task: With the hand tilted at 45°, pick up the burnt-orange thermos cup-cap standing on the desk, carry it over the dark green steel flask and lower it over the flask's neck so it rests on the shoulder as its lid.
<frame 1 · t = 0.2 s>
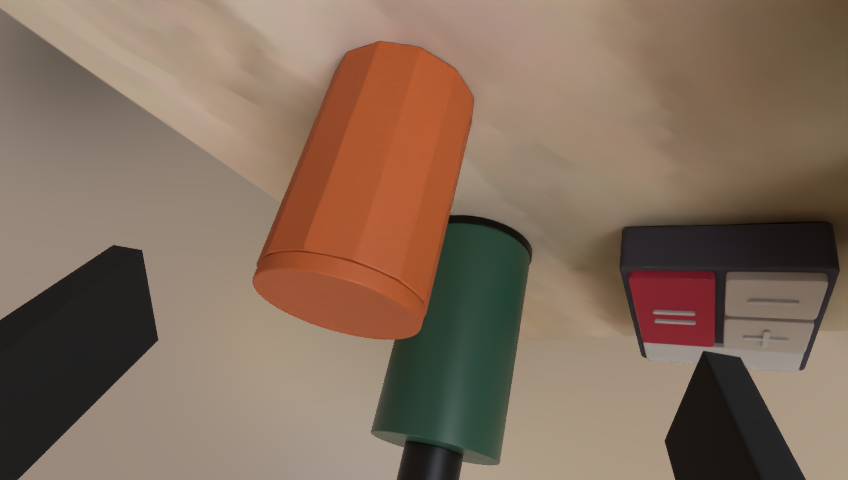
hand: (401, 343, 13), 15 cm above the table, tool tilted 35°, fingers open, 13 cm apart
flask: (475, 245, 41), on the table
red and grey box: (717, 276, 37), on the table
cap: (403, 98, 28), on the table
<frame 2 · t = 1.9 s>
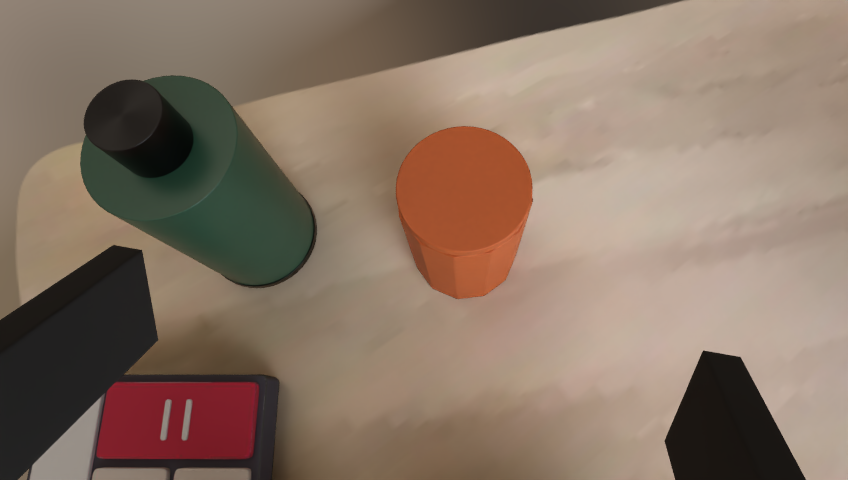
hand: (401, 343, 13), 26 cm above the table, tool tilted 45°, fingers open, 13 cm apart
flask: (263, 234, 42), on the table
red and grey box: (171, 457, 38), on the table
cap: (464, 249, 40), on the table
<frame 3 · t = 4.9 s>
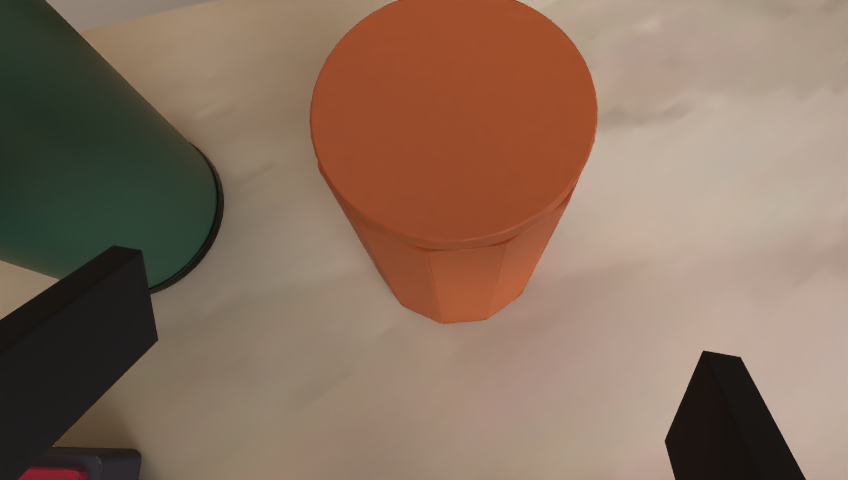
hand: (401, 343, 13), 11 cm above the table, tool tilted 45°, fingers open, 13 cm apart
flask: (139, 213, 27), on the table
cap: (455, 243, 25), on the table
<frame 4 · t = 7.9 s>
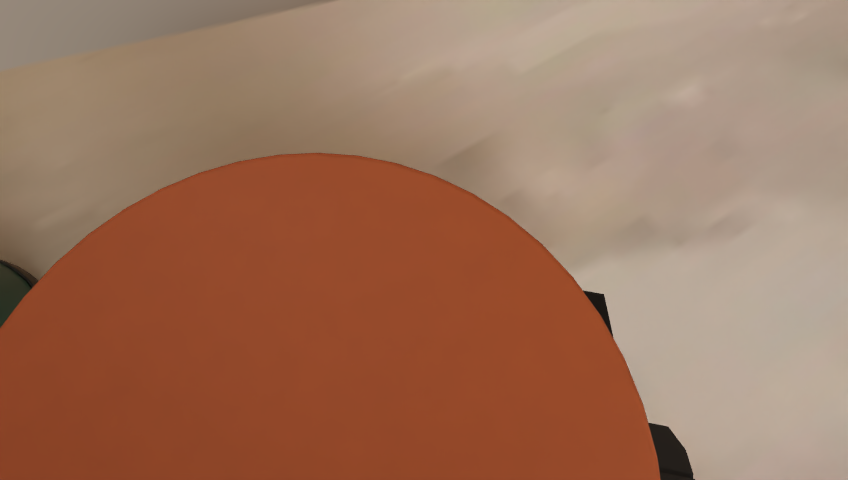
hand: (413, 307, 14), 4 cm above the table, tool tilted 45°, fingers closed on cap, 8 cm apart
cap: (402, 436, 17), on the table, touching gripper
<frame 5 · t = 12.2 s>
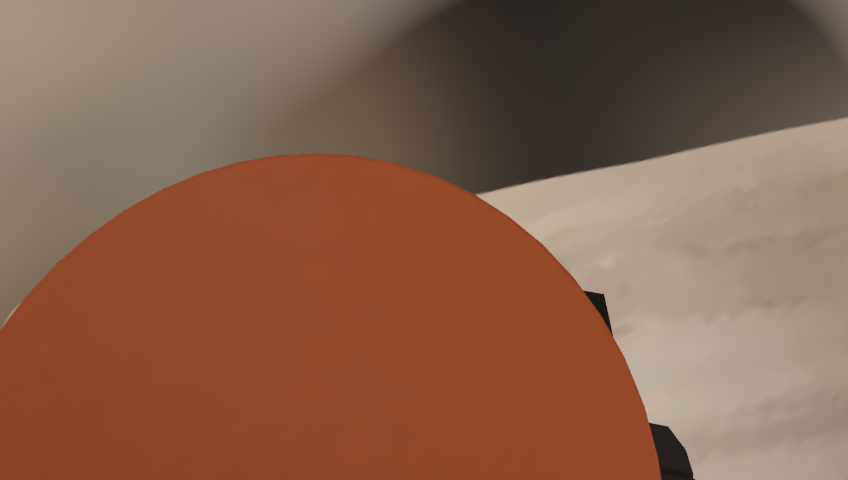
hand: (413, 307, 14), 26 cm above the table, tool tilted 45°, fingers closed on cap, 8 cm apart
cap: (402, 437, 17), point 22 cm above the table, touching gripper
when the fingers open (19 cm above the table, at t = 16.6 s): cap stays where it is, resting on flask.
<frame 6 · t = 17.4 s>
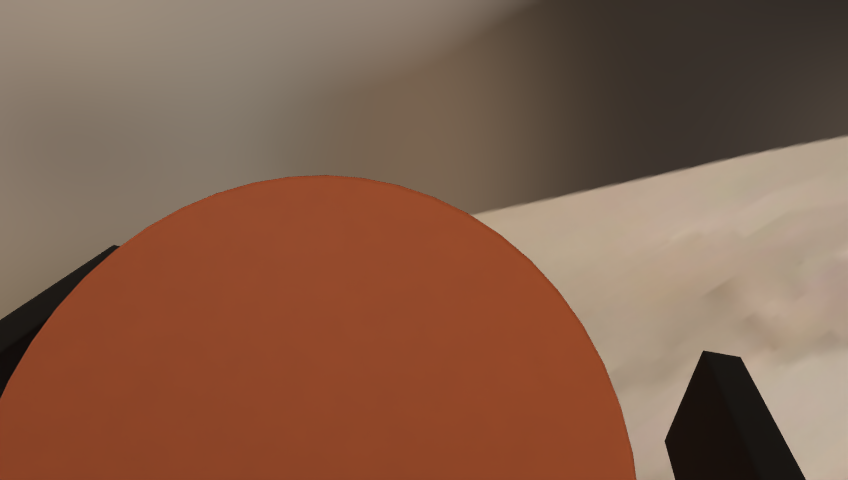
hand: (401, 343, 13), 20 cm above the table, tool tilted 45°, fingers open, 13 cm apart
cap: (402, 436, 17), point 15 cm above the table, touching flask
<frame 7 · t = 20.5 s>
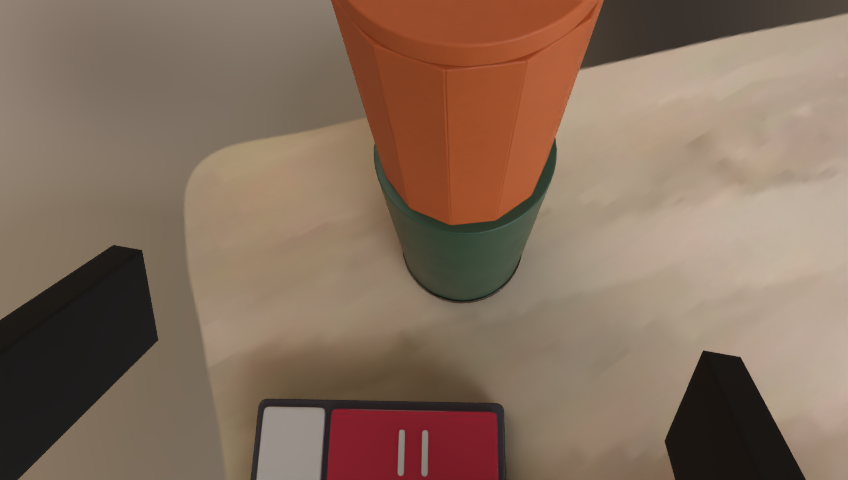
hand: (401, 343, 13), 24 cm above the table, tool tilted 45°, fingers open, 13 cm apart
flask: (461, 244, 39), on the table
cap: (463, 148, 25), point 15 cm above the table, touching flask
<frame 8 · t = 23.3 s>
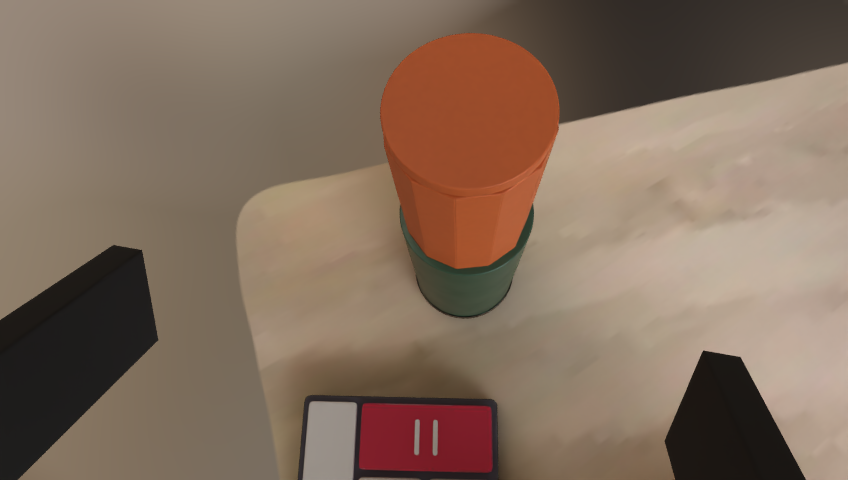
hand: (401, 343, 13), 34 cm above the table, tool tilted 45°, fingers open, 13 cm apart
flask: (464, 270, 48), on the table
red and grey box: (401, 468, 43), on the table
cap: (465, 210, 33), point 15 cm above the table, touching flask
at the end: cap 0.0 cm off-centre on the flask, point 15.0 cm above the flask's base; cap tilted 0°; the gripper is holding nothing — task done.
